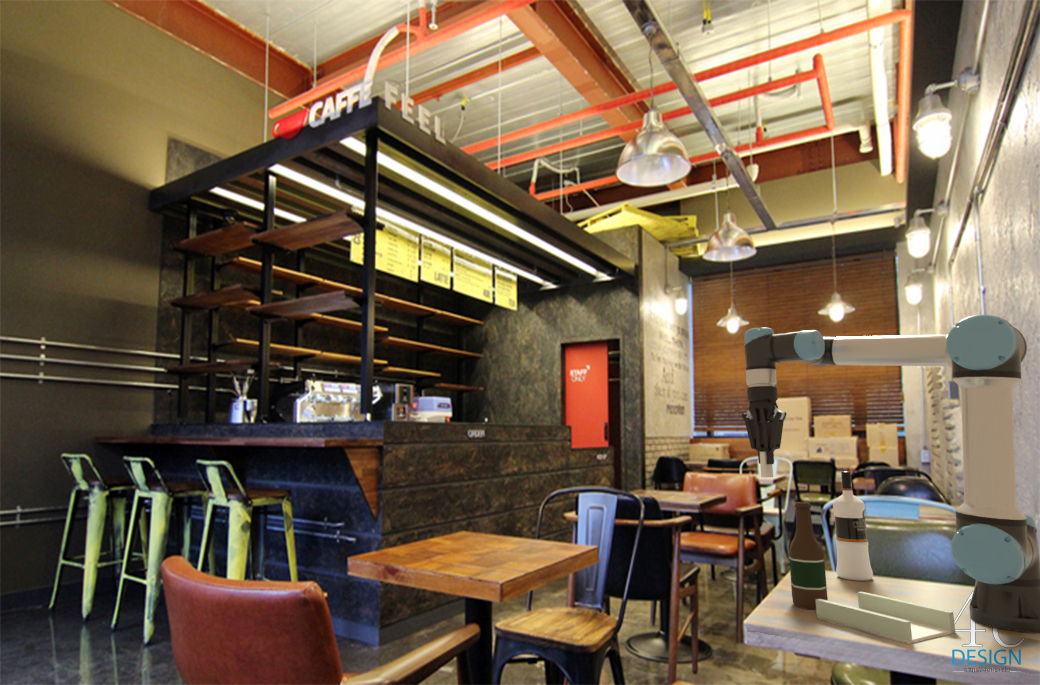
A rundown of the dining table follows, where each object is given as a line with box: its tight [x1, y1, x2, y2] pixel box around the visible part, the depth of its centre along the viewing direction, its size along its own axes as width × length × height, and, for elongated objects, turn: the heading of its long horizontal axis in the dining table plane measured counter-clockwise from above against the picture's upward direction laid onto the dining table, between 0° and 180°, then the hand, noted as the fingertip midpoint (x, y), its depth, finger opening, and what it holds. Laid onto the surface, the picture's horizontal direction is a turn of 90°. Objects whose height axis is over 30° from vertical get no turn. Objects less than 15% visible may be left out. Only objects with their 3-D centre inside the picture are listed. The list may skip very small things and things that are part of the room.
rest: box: [816, 591, 956, 645], centre depth 133 cm, size 20×16×4 cm
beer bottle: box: [788, 501, 829, 611], centre depth 150 cm, size 8×8×24 cm
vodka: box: [832, 470, 874, 582], centre depth 181 cm, size 9×9×30 cm
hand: (767, 477), depth 162 cm, fingers closed
